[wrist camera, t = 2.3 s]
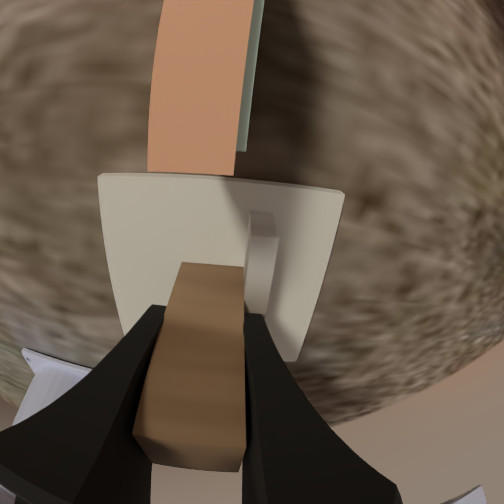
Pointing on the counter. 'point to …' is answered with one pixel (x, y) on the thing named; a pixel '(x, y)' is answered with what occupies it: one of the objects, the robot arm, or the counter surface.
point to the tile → (203, 84)
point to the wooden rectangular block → (206, 359)
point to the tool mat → (215, 240)
